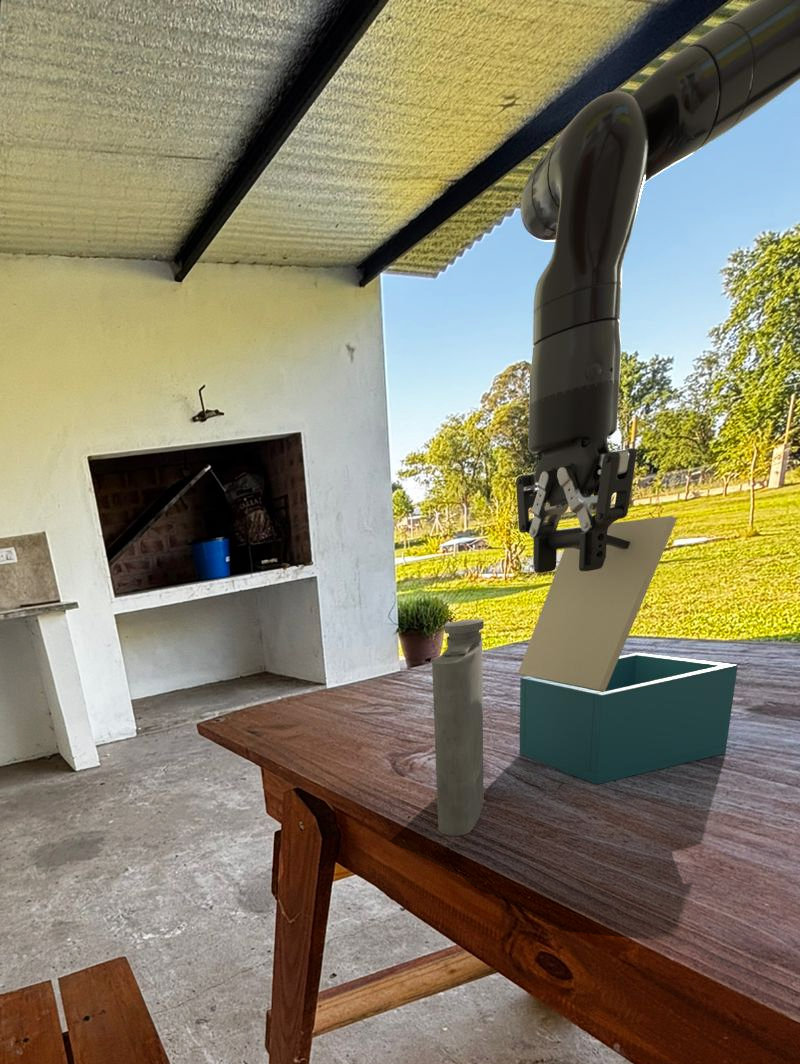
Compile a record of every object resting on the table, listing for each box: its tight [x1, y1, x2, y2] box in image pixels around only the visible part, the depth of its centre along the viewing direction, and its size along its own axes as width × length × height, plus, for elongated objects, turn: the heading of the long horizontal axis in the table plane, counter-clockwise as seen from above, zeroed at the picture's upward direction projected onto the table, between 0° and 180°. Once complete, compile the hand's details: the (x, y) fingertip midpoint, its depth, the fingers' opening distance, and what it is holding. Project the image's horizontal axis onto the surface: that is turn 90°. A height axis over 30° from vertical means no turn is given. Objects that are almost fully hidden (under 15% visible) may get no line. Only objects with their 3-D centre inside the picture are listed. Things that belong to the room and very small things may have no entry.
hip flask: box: [431, 618, 485, 837], centre depth 64 cm, size 16×4×20 cm, turn 154°
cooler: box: [519, 652, 739, 785], centre depth 72 cm, size 16×13×10 cm
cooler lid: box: [517, 515, 678, 691], centre depth 66 cm, size 17×13×6 cm
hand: (566, 570), depth 65 cm, fingers open, 6 cm apart
